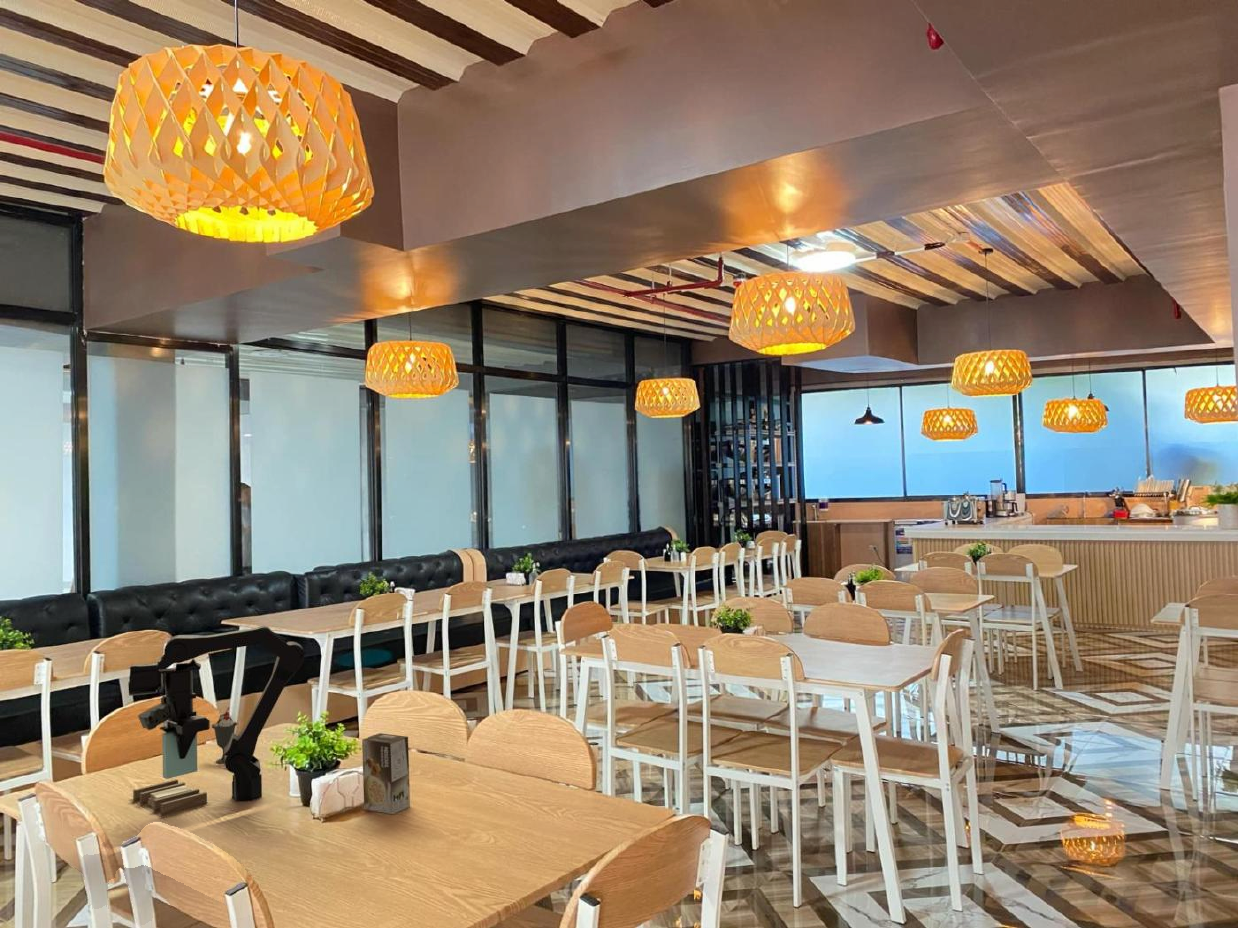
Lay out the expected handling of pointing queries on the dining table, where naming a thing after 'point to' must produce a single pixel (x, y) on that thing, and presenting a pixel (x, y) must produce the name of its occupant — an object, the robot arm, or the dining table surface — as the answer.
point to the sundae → (224, 732)
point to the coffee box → (386, 773)
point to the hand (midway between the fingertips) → (180, 757)
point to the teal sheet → (177, 757)
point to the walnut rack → (169, 799)
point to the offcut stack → (166, 793)
